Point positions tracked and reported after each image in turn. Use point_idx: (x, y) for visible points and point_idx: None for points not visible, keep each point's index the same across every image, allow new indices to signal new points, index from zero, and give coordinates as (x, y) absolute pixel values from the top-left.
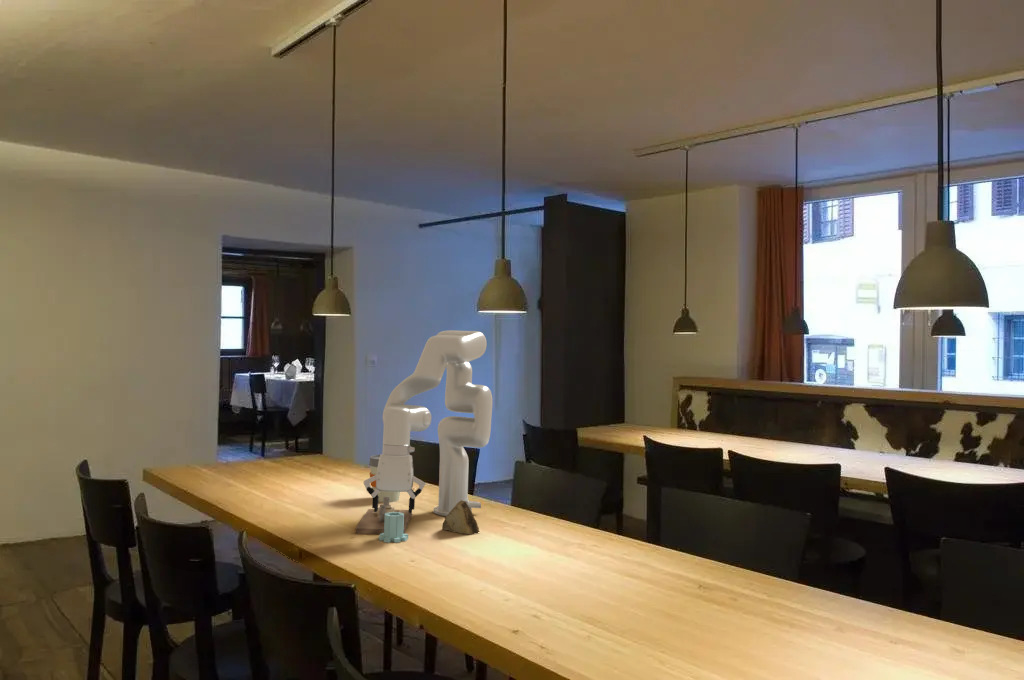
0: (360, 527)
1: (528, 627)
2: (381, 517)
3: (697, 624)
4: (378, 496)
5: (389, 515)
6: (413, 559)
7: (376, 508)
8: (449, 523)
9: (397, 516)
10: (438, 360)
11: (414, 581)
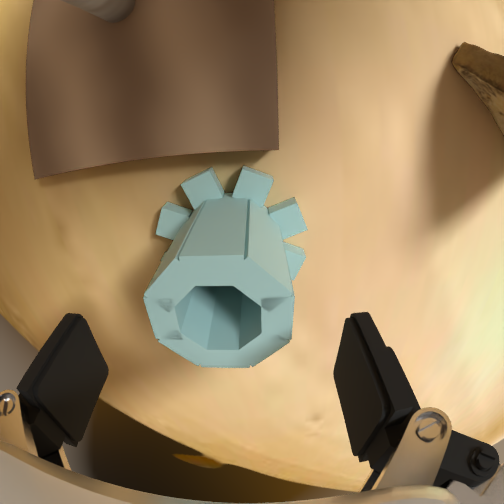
0: (45, 157)
1: None
2: (102, 15)
3: (495, 433)
4: (39, 398)
5: (194, 353)
6: (319, 412)
7: (101, 386)
8: (499, 105)
9: (253, 365)
10: None
11: (312, 463)
